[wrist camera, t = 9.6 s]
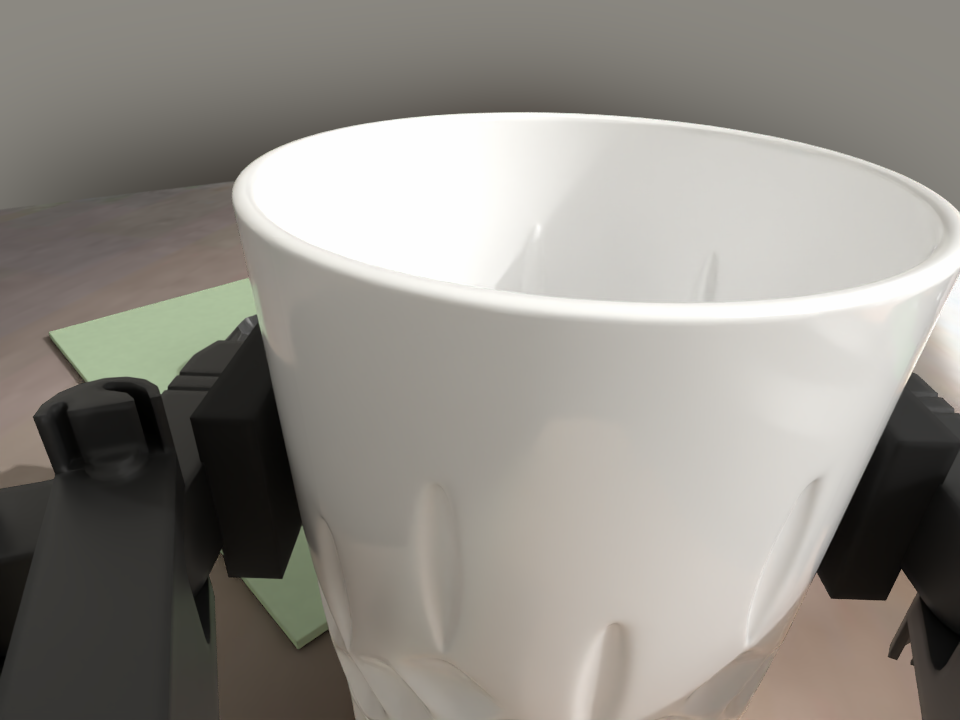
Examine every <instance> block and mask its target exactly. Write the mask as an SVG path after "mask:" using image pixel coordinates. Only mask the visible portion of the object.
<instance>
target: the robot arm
mask: <svg viewBox="0 0 960 720" xmlns="http://www.w3.org/2000/svg"><path fill="white" fill-rule="evenodd" d="M33 418H34V421H35V423H36V426H37V429H38V431H39V434H40V436H41V439H42V441H43V444H44V447H45V449H46V452H47V454H48V457H49V459H50V462H51V464H52V467H53V470H54V472H55V478H54V479H52V480H48V481H43V482H37V483H31V484H26V485H20V486H14V487H8V488H2V489H0V720H219V696H218V671H217V646H216V621H215V596H214V592H213V589H212V585H211V581H210V577H209V574H210V572H211V570H212V568H213V566H214V563H215V561H216V559H217V557H218V555H219V553H220V551H221V549H222V552H223V556H224V560H225V564H226V568H227V572H228V577H237V578H265V579H283V576H284V573H285V571H286V568H287V565H288V562H289V560H290V557H291V554H292V551H293V549H294V546H295V543H296V540H297V538H298V535H299V532H300V529H301V527H302V522H301V518H300V513H299V509H298V505H297V500H296V496H295V491H294V486H293V482H292V477H291V472H290V468H289V463H288V458H287V454H286V449H285V444H284V440H283V435H282V430H281V426H280V421H279V416H278V411H277V407H276V402H275V397H274V392H273V388H272V383H271V378H270V373H269V368H268V364H267V359H266V354H265V349H264V345H263V340H262V336H261V331H260V326H259V322H258V323H257V324H256V326H255V327H254V328H253V330H252V331H251V333H250V334H249V335H248V337H247V338H246V340H245V341H228V340H218V341H216V342H214V343H213V344H211V345H209V346H207V347H206V348H204V349H202V350H201V351H199V352H197V353H196V354H194V355H193V356H192V357H191V359H190V360H189V361H188V362H187V363H186V365H185V366H184V367H183V368H182V370H181V371H180V374H179V375H177V376H176V377H175V378H174V379H173V380H172V382H171V383H170V384H169V385H168V390H164V391H163V393H162V394H160V391H159V388H158V386H157V385H155V384H153V383H151V382H150V381H148V380H146V379H141V378H134V377H128V376H126V377H111V378H102V379H98V380H94V381H90V382H85V383H81V384H79V385H76V386H74V387H72V388H69V389H67V390H65V391H62V392H60V393H58V394H57V395H55V396H54V397H52V398H51V399H49V400H48V401H46V402H45V403H44V404H42V405H41V407H40V408H39V410H38V411H37V412H36V414H35V415H34V416H33ZM901 569H902V570H903V572H904V573H905V575H906V576H907V577H908V579H909V580H910V582H911V583H912V585H913V586H914V588H915V589H916V591H917V594H916V596H915V598H914V600H913V602H912V604H911V606H910V608H909V609H908V611H907V613H906V615H905V617H904V619H903V621H902V623H901V625H900V627H899V629H898V631H897V633H896V634H895V636H894V638H893V640H892V642H891V644H890V648H889V654H888V657H889V658H892V659H895V660H897V659H898V657H899V656H900V654H901V652H902V650H903V648H904V646H905V645H907V644H909V643H910V642H911V648H912V655H913V659H912V660H911V663H910V665H913V666H914V668H915V675H916V681H917V688H918V694H919V701H920V707H921V714H922V720H960V414H959V413H954V408H953V407H952V406H950V405H949V404H948V403H947V402H946V401H945V400H944V399H943V398H939V397H938V393H937V392H935V391H934V390H933V389H932V388H931V387H930V386H929V385H928V384H927V383H926V382H925V381H924V380H923V379H921V378H920V377H919V376H918V375H917V374H915V373H913V372H912V374H911V376H910V378H909V380H908V382H907V384H906V386H905V388H904V390H903V392H902V394H901V396H900V398H899V401H898V403H897V405H896V407H895V409H894V411H893V413H892V415H891V417H890V419H889V421H888V423H887V425H886V428H885V430H884V432H883V434H882V436H881V438H880V440H879V442H878V444H877V446H876V449H875V451H874V453H873V455H872V457H871V459H870V461H869V463H868V465H867V467H866V470H865V472H864V474H863V476H862V478H861V480H860V482H859V484H858V486H857V488H856V491H855V493H854V495H853V497H852V499H851V501H850V503H849V505H848V507H847V510H846V512H845V514H844V516H843V518H842V520H841V522H840V524H839V526H838V529H837V531H836V533H835V535H834V537H833V539H832V541H831V543H830V545H829V547H828V549H827V551H826V553H825V556H824V558H823V560H822V562H821V564H820V566H819V568H818V570H817V573H818V575H819V577H820V579H821V581H822V583H823V585H824V586H825V588H826V590H827V592H828V594H829V596H830V597H831V599H858V600H886V599H887V597H888V595H889V593H890V591H891V589H892V587H893V585H894V583H895V581H896V579H897V577H898V575H899V573H900V571H901Z"/></svg>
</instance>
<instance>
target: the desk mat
mask: <svg viewBox="0 0 960 720" xmlns="http://www.w3.org/2000/svg"><path fill="white" fill-rule="evenodd" d="M256 314H257V313H256V308H255V303H254V299H253V294H252V290H251V285H250V281H249V278H247V279H243V280H239V281H236V282H232V283H228V284H225V285H221V286H217V287H214V288H210V289H206V290H203V291H199V292H195V293H192V294H188V295H184V296H180V297H177V298H173V299H169V300H166V301H162V302H158V303H155V304H151V305H147V306H144V307H140V308H136V309H132V310H129V311H125V312H121V313H118V314H114V315H110V316H107V317H103V318H99V319H96V320H92V321H88V322H85V323H81V324H77V325H73V326H70V327H66V328H62V329H59V330H55V331H51V332H49V335H50V338H51V339H52V341H53V342H54V343H55V344H56V346H57V347H58V348H59V349H60V351H61V352H62V353H63V354H64V356H65V357H66V358H67V359H68V361H69V362H70V363H71V364H72V366H73V367H74V368H75V369H76V371H77V372H78V373H79V374H80V376H81V377H82V378H83V380H84V381H85V382H90V381H94V380H98V379H102V378H111V377H126V376H128V377H134V378H141V379H146V380H148V381H150V382H151V383H153V384H155V385H157V386H158V388H159V391H160V394H162V393H163V391H164V390H168V385H169V384H170V383H171V382H172V380H173V379H174V378H175V377H176V376H177V375H179V374H180V371H181V370H182V368H183V367H184V366H185V365H186V363H187V362H188V361H189V360H190V359H191V357H192V356H193V355H194V354H196V353H197V352H199V351H201V350H202V349H204V348H206V347H207V346H209V345H211V344H213V343H214V342H216V341H218V340H226V338H227V337H228V336H229V335H230V334H231V333H232V332H233V330H234V329H235V328H236V327H237V326H238V325H239V324H240V323H241V322H242V321H243V320H244V319H245V318H247V317H250V316H253V315H256ZM220 552H221V553H222V555H223V552H222V549H221V551H220ZM242 580H243V581H244V582H245V583H246V585H247V586H248V587H249V589H250V590H251V591H252V592H253V594H254V595H255V596H256V597H257V599H258V600H259V601H260V602H261V604H262V605H263V606H264V607H265V609H266V610H267V611H268V612H269V614H270V615H271V616H272V617H273V619H274V620H275V621H276V623H277V624H278V625H279V626H280V628H281V629H282V630H283V631H284V633H285V634H286V635H287V636H288V638H289V639H290V640H291V641H292V643H293V644H294V645H295V646H296V648H297V649H300V648H301V647H303V646H304V645H306V644H307V643H309V642H310V641H312V640H313V639H315V638H316V637H318V636H319V635H320V634H322V633H323V632H325V631H326V630H328V629H329V628H328V624H327V620H326V616H325V613H324V608H323V604H322V600H321V595H320V591H319V586H318V581H317V576H316V573H315V570H314V566H313V563H312V559H311V556H310V552H309V549H308V545H307V541H306V537H305V534H304V530H303V526H302V527H301V529H300V532H299V535H298V538H297V540H296V543H295V546H294V549H293V551H292V554H291V557H290V560H289V562H288V565H287V568H286V571H285V573H284V576H283V579H265V578H242Z"/></svg>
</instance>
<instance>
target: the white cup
mask: <svg viewBox="0 0 960 720" xmlns="http://www.w3.org/2000/svg"><path fill="white" fill-rule="evenodd" d="M232 204H233V209H234V214H235V218H236V222H237V227H238V231H239V236H240V240H241V245H242V249H243V254H244V258H245V263H246V267H247V272H248V276H249V281H250V285H251V290H252V294H253V299H254V303H255V308H256V313H257V317H258V322H259V326H260V331H261V336H262V340H263V345H264V349H265V354H266V359H267V364H268V368H269V373H270V378H271V383H272V388H273V392H274V397H275V402H276V407H277V411H278V416H279V421H280V426H281V430H282V435H283V440H284V444H285V449H286V454H287V458H288V463H289V468H290V472H291V477H292V482H293V486H294V491H295V496H296V500H297V505H298V509H299V513H300V518H301V522H302V526H303V530H304V534H305V537H306V541H307V545H308V549H309V552H310V556H311V559H312V563H313V566H314V570H315V573H316V576H317V581H318V586H319V591H320V595H321V600H322V604H323V608H324V613H325V616H326V620H327V624H328V628H329V632H330V637H331V640H332V642H333V645H334V648H335V650H336V653H337V655H338V658H339V660H340V663H341V666H342V668H343V671H344V673H345V675H346V678H347V680H348V685H349V689H350V693H351V699H352V704H353V709H354V715H355V720H738V719H739V718H740V717H741V716H742V715H743V714H744V713H745V712H746V710H747V709H748V706H749V704H750V701H751V699H752V697H753V695H754V693H755V691H756V690H757V688H758V686H759V685H760V683H761V681H762V679H763V677H764V676H765V674H766V672H767V670H768V668H769V666H770V664H771V663H772V661H773V659H774V657H775V655H776V653H777V651H778V649H779V648H780V646H781V644H782V643H783V641H784V639H785V637H786V635H787V633H788V631H789V629H790V627H791V625H792V623H793V621H794V619H795V617H796V614H797V612H798V610H799V608H800V606H801V604H802V602H803V600H804V598H805V595H806V593H807V591H808V589H809V587H810V585H811V583H812V581H813V579H814V577H815V574H816V572H817V570H818V568H819V566H820V564H821V562H822V560H823V558H824V556H825V553H826V551H827V549H828V547H829V545H830V543H831V541H832V539H833V537H834V535H835V533H836V531H837V529H838V526H839V524H840V522H841V520H842V518H843V516H844V514H845V512H846V510H847V507H848V505H849V503H850V501H851V499H852V497H853V495H854V493H855V491H856V488H857V486H858V484H859V482H860V480H861V478H862V476H863V474H864V472H865V470H866V467H867V465H868V463H869V461H870V459H871V457H872V455H873V453H874V451H875V449H876V446H877V444H878V442H879V440H880V438H881V436H882V434H883V432H884V430H885V428H886V425H887V423H888V421H889V419H890V417H891V415H892V413H893V411H894V409H895V407H896V405H897V403H898V401H899V398H900V396H901V394H902V392H903V390H904V388H905V386H906V384H907V382H908V380H909V378H910V376H911V374H912V372H913V369H914V367H915V365H916V363H917V361H918V359H919V357H920V355H921V353H922V351H923V349H924V347H925V345H926V343H927V340H928V338H929V336H930V334H931V332H932V330H933V328H934V326H935V324H936V322H937V320H938V318H939V316H940V314H941V312H942V310H943V307H944V305H945V303H946V301H947V299H948V297H949V295H950V293H951V291H952V289H953V287H954V285H955V283H956V281H957V279H958V277H959V275H960V213H959V211H958V210H957V209H956V208H955V207H954V206H953V205H951V204H950V203H949V202H948V201H947V200H945V199H944V198H943V197H941V196H940V195H938V194H937V193H935V192H934V191H932V190H930V189H929V188H927V187H925V186H923V185H922V184H920V183H918V182H916V181H914V180H912V179H910V178H908V177H906V176H903V175H901V174H899V173H897V172H894V171H892V170H889V169H886V168H884V167H881V166H879V165H876V164H873V163H870V162H867V161H864V160H861V159H859V158H856V157H852V156H849V155H846V154H842V153H839V152H836V151H832V150H828V149H825V148H821V147H817V146H813V145H809V144H805V143H800V142H796V141H792V140H787V139H782V138H778V137H773V136H768V135H762V134H757V133H752V132H746V131H740V130H734V129H728V128H722V127H714V126H708V125H701V124H693V123H685V122H677V121H668V120H659V119H658V120H657V119H648V118H637V117H625V116H611V115H595V114H594V115H593V114H574V113H535V112H532V113H531V112H529V113H528V112H523V113H522V112H513V113H512V112H508V113H469V114H450V115H437V116H425V117H412V118H403V119H395V120H387V121H380V122H373V123H367V124H361V125H355V126H350V127H345V128H340V129H335V130H331V131H327V132H323V133H319V134H315V135H312V136H308V137H305V138H302V139H299V140H296V141H293V142H290V143H288V144H285V145H283V146H280V147H278V148H276V149H274V150H272V151H270V152H268V153H266V154H264V155H262V156H261V157H259V158H258V159H256V160H255V161H253V162H252V163H251V164H249V165H248V166H247V167H246V168H245V169H244V170H243V171H242V172H241V173H240V175H239V176H238V177H237V179H236V181H235V183H234V185H233V189H232Z"/></svg>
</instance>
